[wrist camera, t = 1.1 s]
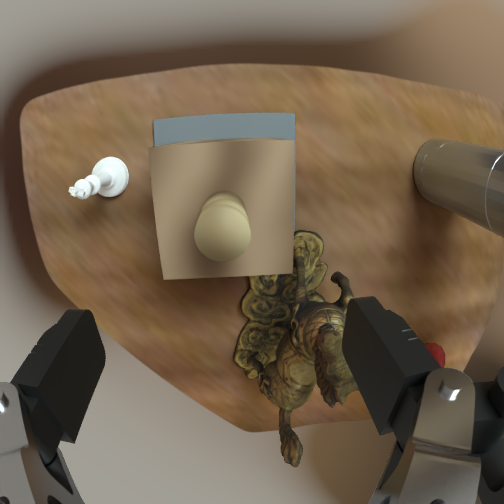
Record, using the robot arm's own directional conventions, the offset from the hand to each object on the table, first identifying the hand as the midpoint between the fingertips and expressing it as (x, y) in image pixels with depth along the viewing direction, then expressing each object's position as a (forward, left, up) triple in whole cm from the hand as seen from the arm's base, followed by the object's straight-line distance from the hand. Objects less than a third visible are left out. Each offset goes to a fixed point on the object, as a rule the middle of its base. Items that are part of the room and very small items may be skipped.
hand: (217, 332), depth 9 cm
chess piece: (+14, -2, -28) cm, 32 cm away
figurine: (-6, +18, -28) cm, 34 cm away
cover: (0, 0, -28) cm, 28 cm away
